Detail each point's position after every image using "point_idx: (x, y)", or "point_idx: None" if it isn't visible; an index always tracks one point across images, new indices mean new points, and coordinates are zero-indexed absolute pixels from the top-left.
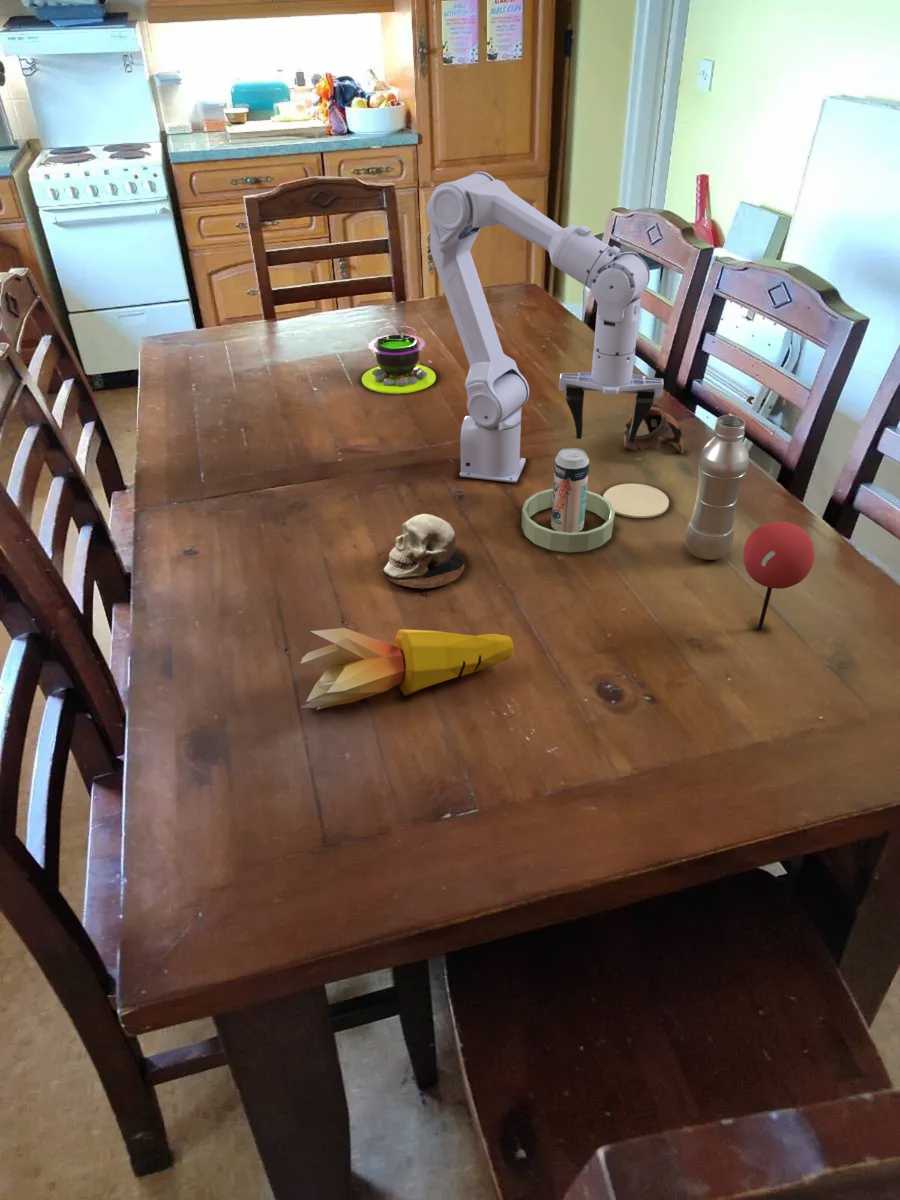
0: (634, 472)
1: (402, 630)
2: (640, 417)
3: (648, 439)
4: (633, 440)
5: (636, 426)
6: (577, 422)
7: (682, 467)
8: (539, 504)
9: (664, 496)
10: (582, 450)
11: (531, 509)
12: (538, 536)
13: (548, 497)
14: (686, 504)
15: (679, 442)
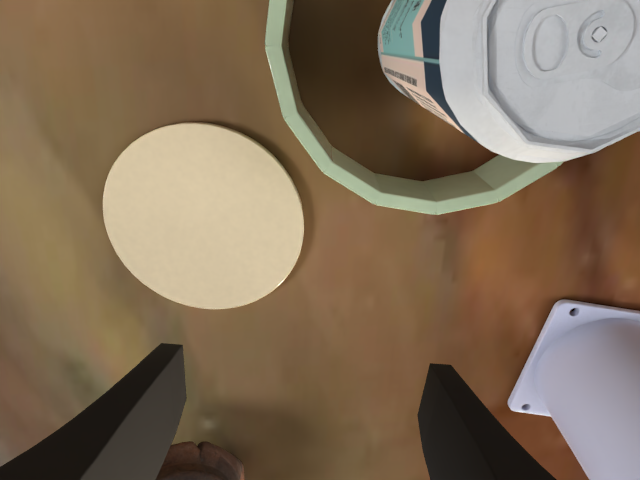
0: (215, 367)
1: None
2: (38, 460)
3: (167, 470)
4: (156, 348)
5: (105, 406)
6: (497, 435)
7: (93, 394)
8: None
9: (120, 246)
10: (501, 113)
11: None
12: None
13: (496, 177)
14: (55, 216)
15: None
